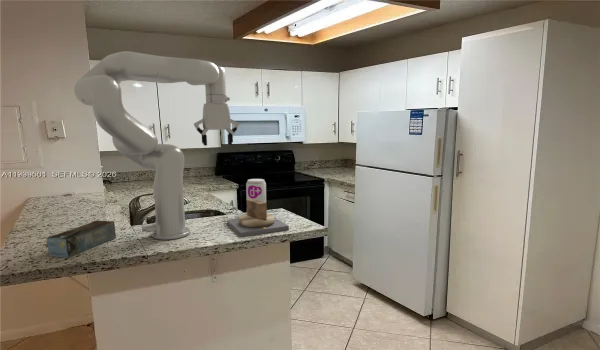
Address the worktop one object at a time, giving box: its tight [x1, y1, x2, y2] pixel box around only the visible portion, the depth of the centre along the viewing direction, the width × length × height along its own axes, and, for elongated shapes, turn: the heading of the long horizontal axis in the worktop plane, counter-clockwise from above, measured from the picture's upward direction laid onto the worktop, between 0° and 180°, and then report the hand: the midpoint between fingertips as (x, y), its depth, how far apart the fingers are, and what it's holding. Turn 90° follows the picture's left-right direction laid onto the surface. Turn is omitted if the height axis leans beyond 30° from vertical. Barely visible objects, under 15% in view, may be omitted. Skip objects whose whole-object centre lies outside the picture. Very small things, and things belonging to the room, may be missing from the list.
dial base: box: [226, 216, 290, 238], centre depth 135 cm, size 18×18×2 cm
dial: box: [238, 199, 275, 227], centre depth 134 cm, size 13×13×8 cm
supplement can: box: [245, 178, 267, 203], centre depth 151 cm, size 8×8×15 cm
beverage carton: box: [46, 220, 117, 259], centre depth 114 cm, size 8×19×7 cm, turn 164°
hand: (217, 144), depth 139 cm, fingers open, 9 cm apart
